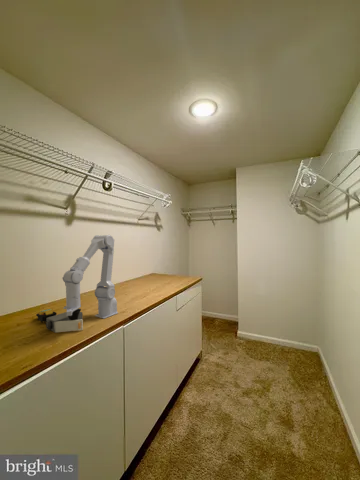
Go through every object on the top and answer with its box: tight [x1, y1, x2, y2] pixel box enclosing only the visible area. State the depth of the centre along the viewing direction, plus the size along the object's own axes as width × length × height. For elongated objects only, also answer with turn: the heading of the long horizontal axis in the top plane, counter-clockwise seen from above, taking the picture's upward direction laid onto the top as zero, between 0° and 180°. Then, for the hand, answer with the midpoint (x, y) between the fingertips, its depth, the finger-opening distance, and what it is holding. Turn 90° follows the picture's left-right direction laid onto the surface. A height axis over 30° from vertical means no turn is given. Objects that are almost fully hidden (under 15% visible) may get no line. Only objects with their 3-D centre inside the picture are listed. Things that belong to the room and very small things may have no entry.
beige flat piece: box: [53, 318, 84, 333], centre depth 90 cm, size 12×2×4 cm, turn 100°
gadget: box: [36, 308, 58, 323], centre depth 105 cm, size 6×13×6 cm, turn 49°
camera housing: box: [45, 311, 84, 333], centre depth 97 cm, size 14×8×6 cm, turn 147°
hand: (74, 326), depth 92 cm, fingers closed
